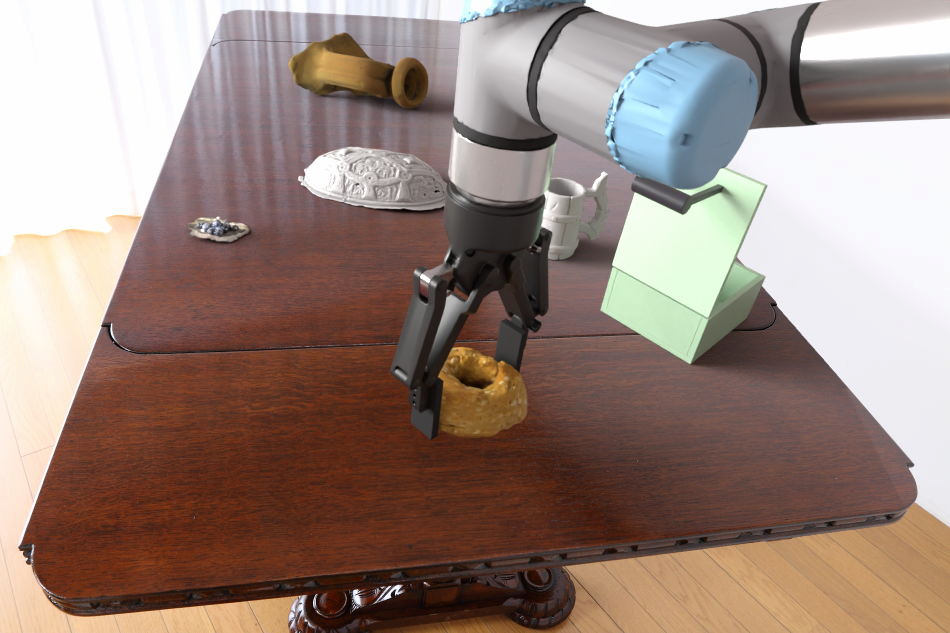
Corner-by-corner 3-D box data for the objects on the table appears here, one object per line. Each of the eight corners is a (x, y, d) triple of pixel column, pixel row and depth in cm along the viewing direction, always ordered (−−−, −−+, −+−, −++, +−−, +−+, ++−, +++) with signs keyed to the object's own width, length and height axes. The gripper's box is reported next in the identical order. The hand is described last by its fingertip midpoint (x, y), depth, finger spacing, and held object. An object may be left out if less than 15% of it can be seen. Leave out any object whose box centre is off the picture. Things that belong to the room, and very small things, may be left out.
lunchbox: (662, 272, 99) (675, 231, 95) (747, 317, 92) (766, 276, 88) (600, 310, 89) (612, 267, 85) (690, 364, 82) (708, 320, 78)
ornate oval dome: (447, 217, 103) (449, 174, 100) (285, 199, 104) (283, 156, 101) (459, 183, 116) (462, 144, 113) (316, 167, 117) (314, 129, 114)
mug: (517, 235, 103) (531, 161, 95) (588, 232, 106) (606, 160, 99) (535, 262, 97) (551, 186, 90) (609, 258, 100) (630, 184, 93)
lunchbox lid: (655, 137, 76) (606, 151, 70) (768, 184, 69) (725, 205, 63) (615, 263, 85) (568, 285, 79) (711, 316, 78) (669, 345, 72)
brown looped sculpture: (354, 38, 148) (436, 46, 138) (348, 99, 152) (427, 112, 142) (291, 20, 133) (376, 29, 123) (286, 89, 137) (369, 103, 126)
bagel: (517, 457, 59) (525, 417, 56) (396, 429, 60) (398, 389, 57) (532, 384, 67) (540, 346, 64) (425, 361, 68) (428, 323, 65)
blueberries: (187, 221, 95) (185, 209, 93) (247, 217, 97) (246, 205, 96) (189, 246, 90) (187, 234, 89) (252, 241, 93) (251, 229, 91)
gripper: (552, 138, 59) (515, 337, 73) (342, 204, 45) (343, 437, 58) (623, 169, 56) (570, 373, 69) (417, 252, 42) (400, 490, 55)
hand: (466, 402), depth 64 cm, fingers closed on bagel, 10 cm apart
